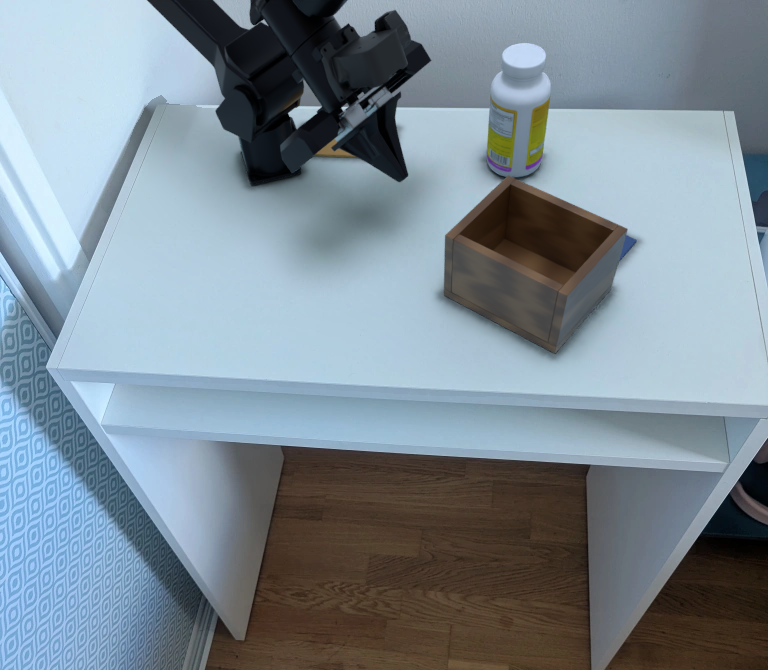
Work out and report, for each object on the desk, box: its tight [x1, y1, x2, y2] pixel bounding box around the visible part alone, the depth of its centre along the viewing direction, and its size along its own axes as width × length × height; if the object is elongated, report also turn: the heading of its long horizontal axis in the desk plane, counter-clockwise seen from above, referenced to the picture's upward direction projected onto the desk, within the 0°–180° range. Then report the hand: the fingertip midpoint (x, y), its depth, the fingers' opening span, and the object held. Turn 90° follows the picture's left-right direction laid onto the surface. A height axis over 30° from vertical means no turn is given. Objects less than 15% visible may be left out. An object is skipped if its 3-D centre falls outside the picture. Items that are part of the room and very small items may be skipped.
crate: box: [443, 176, 629, 354], centre depth 78 cm, size 14×11×8 cm
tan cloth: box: [313, 139, 358, 159], centre depth 95 cm, size 12×6×1 cm, turn 82°
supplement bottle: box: [486, 42, 552, 178], centre depth 86 cm, size 7×7×13 cm
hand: (403, 179), depth 81 cm, fingers closed
